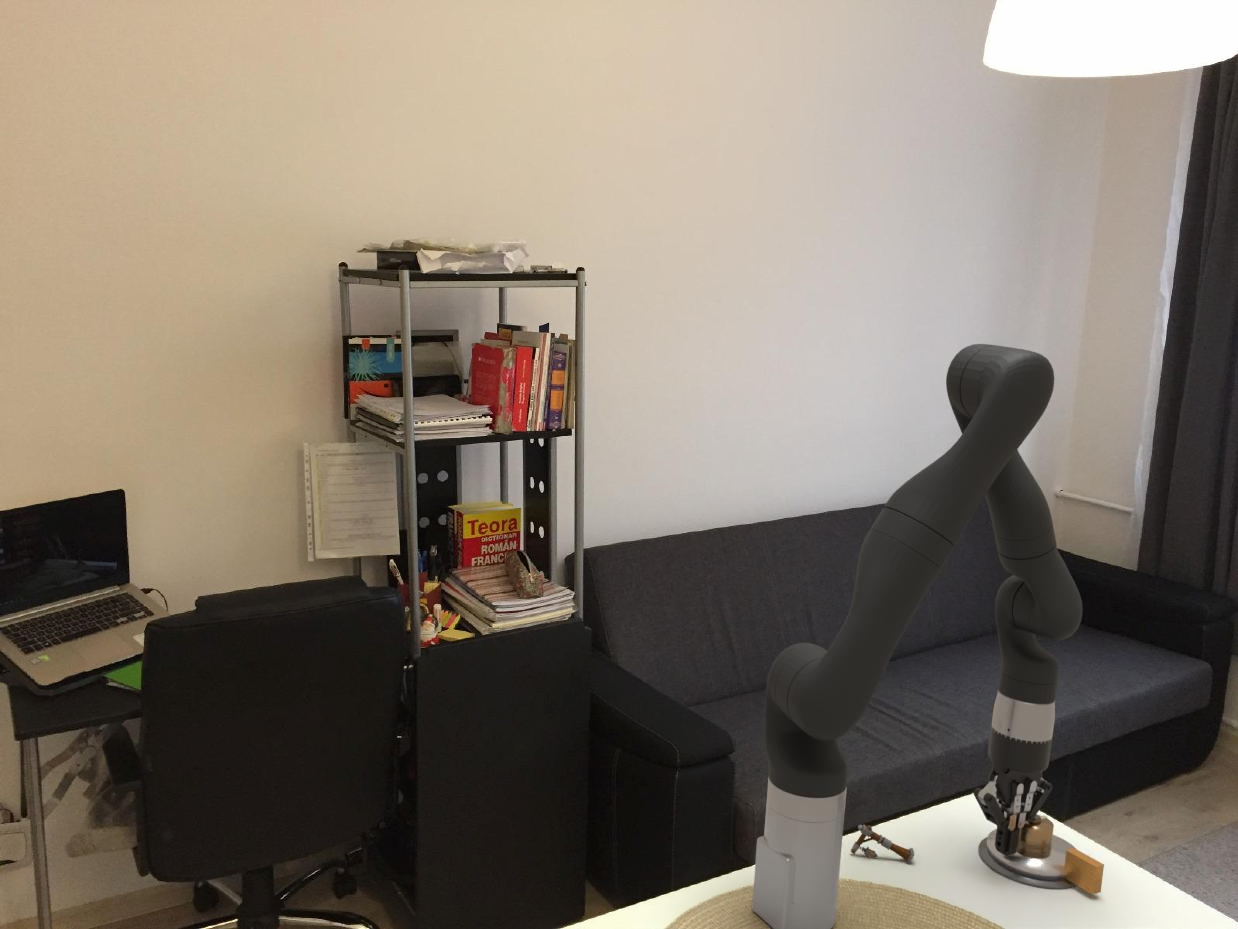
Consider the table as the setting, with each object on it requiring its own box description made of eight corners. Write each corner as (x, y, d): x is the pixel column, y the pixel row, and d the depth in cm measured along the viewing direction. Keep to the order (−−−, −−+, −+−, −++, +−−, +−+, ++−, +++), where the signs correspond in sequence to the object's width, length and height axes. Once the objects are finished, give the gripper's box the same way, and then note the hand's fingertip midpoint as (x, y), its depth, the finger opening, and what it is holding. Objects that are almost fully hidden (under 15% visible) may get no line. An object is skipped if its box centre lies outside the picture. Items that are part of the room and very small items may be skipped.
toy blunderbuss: (844, 844, 143) (860, 818, 142) (897, 873, 142) (913, 847, 141) (845, 851, 141) (861, 824, 140) (898, 880, 140) (915, 853, 139)
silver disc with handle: (967, 844, 144) (970, 819, 144) (1027, 828, 150) (1029, 803, 149) (1065, 904, 130) (1068, 876, 130) (1127, 883, 136) (1130, 856, 136)
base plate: (1039, 899, 133) (1039, 896, 133) (956, 847, 145) (956, 845, 145) (1111, 875, 139) (1111, 872, 139) (1025, 828, 151) (1026, 825, 151)
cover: (1033, 862, 138) (1036, 829, 137) (1003, 844, 142) (1006, 812, 142) (1058, 854, 140) (1062, 822, 140) (1028, 837, 145) (1032, 806, 144)
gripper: (1009, 745, 130) (992, 875, 132) (1079, 733, 137) (1062, 857, 139) (964, 723, 137) (948, 847, 139) (1032, 713, 143) (1017, 832, 145)
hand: (1005, 852), depth 139 cm, fingers closed
